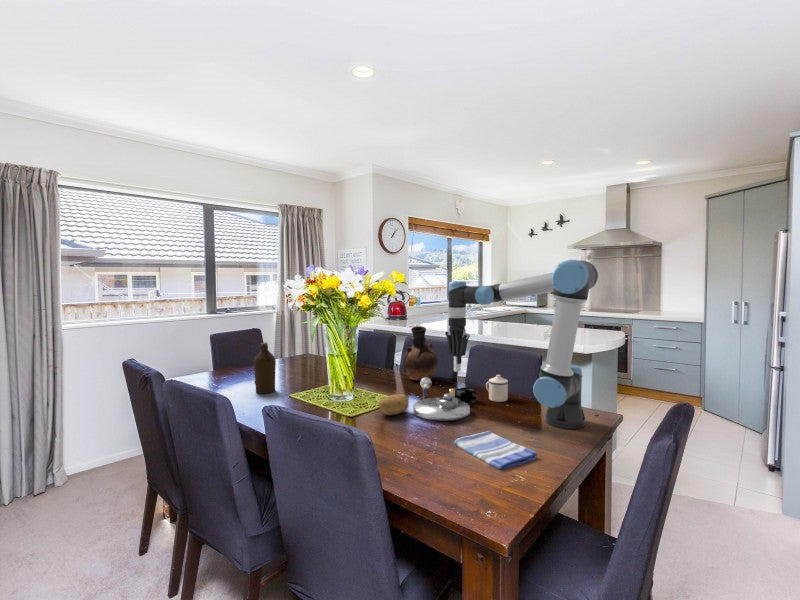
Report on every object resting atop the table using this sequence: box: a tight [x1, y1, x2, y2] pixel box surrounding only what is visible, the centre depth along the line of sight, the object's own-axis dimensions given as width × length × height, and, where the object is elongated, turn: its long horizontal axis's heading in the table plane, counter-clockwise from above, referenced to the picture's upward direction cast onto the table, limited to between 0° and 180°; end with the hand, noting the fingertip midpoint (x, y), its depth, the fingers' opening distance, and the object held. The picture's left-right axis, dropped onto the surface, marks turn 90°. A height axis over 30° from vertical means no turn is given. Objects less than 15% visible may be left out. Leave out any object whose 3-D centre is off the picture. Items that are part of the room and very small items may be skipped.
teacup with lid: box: [485, 374, 509, 403], centre depth 201 cm, size 12×9×12 cm
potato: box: [377, 393, 409, 416], centre depth 179 cm, size 10×14×8 cm
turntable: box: [412, 388, 471, 422], centre depth 179 cm, size 24×24×7 cm
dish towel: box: [453, 430, 538, 471], centre depth 142 cm, size 17×24×3 cm
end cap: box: [454, 385, 477, 405], centre depth 195 cm, size 10×7×7 cm
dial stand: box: [419, 377, 432, 400], centre depth 193 cm, size 4×5×12 cm
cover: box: [438, 392, 458, 409], centre depth 179 cm, size 8×8×5 cm
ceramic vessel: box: [401, 325, 439, 381], centre depth 237 cm, size 21×18×30 cm
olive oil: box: [253, 342, 277, 395], centre depth 214 cm, size 11×11×25 cm
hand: (457, 370), depth 184 cm, fingers closed
